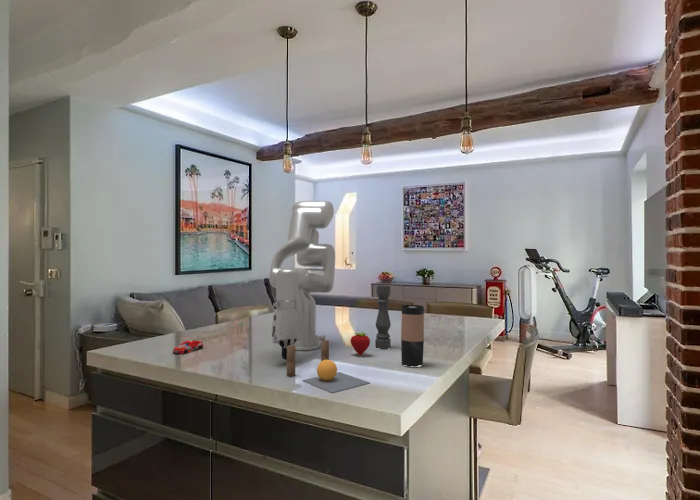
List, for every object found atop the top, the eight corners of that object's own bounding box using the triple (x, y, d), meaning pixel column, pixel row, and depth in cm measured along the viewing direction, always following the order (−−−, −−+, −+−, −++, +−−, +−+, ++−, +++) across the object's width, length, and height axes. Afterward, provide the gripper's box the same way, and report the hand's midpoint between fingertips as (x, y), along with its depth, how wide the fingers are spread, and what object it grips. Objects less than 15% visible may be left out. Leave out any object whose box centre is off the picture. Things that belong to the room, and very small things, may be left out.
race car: (181, 356, 151) (181, 345, 151) (169, 355, 153) (169, 344, 153) (206, 348, 163) (206, 338, 163) (195, 347, 165) (195, 337, 165)
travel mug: (425, 363, 144) (425, 305, 144) (421, 368, 137) (422, 307, 137) (403, 361, 146) (403, 304, 147) (398, 366, 139) (399, 306, 139)
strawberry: (353, 352, 158) (353, 326, 158) (372, 354, 155) (372, 328, 156) (347, 356, 153) (348, 328, 153) (366, 358, 150) (367, 330, 150)
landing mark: (339, 372, 131) (339, 372, 131) (369, 383, 120) (369, 382, 120) (302, 380, 122) (302, 380, 122) (331, 393, 111) (331, 392, 111)
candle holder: (374, 346, 170) (374, 285, 171) (389, 346, 171) (389, 285, 171) (376, 349, 164) (377, 286, 165) (391, 349, 165) (392, 286, 165)
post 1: (292, 373, 129) (292, 344, 129) (296, 375, 127) (297, 346, 127) (284, 375, 127) (285, 345, 128) (289, 376, 126) (289, 347, 126)
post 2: (325, 366, 138) (325, 339, 138) (330, 368, 136) (330, 340, 136) (319, 367, 136) (319, 340, 136) (324, 369, 134) (324, 341, 134)
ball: (336, 354, 124) (343, 373, 121) (327, 363, 128) (334, 381, 125) (319, 357, 120) (326, 377, 118) (310, 366, 124) (317, 385, 121)
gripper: (273, 307, 134) (272, 364, 134) (311, 304, 144) (310, 357, 144) (262, 305, 140) (261, 360, 140) (299, 302, 150) (298, 353, 149)
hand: (286, 358), depth 142 cm, fingers closed
